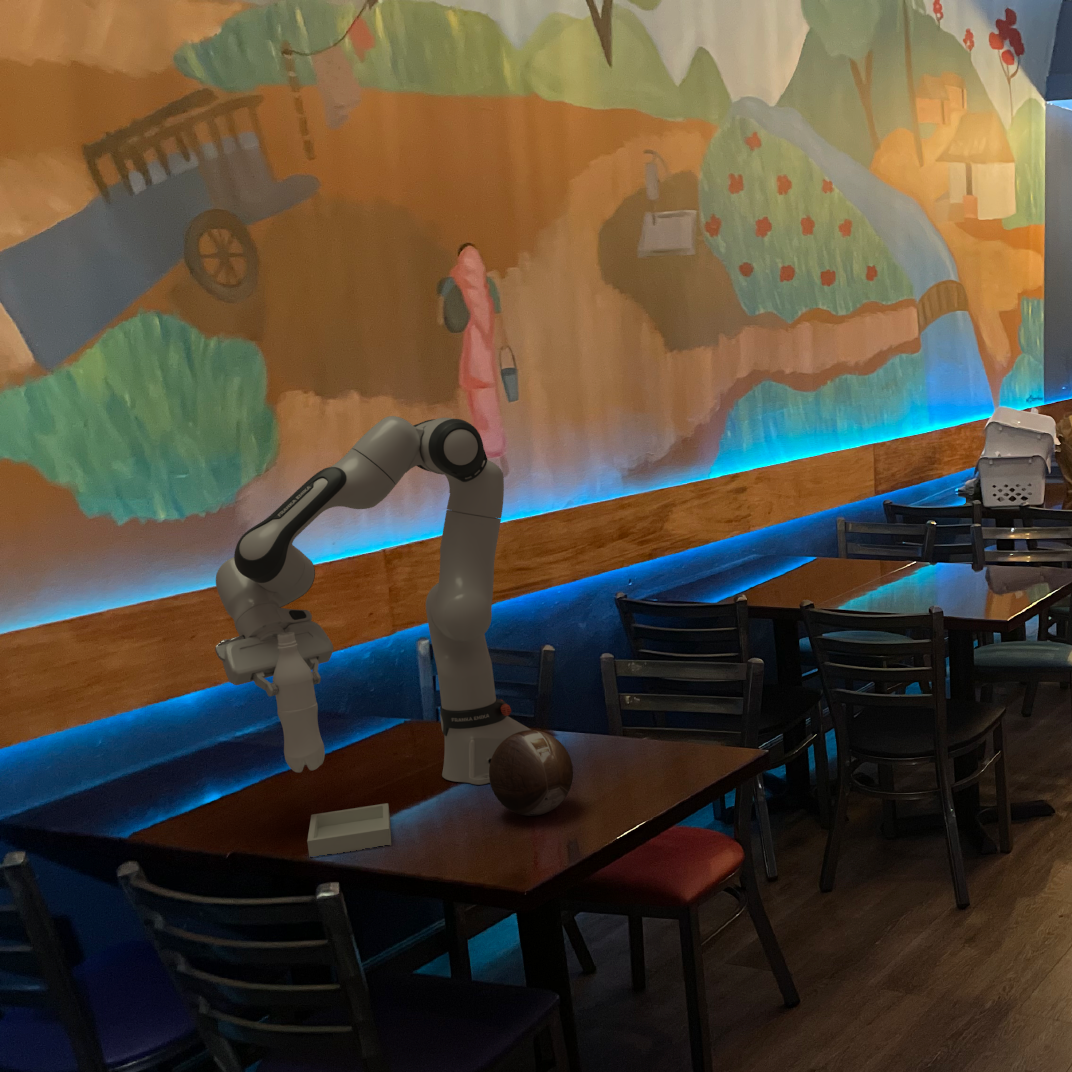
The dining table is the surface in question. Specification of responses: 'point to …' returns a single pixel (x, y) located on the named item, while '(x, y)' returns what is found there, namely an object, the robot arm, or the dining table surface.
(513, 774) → the wooden sphere
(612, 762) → the dining table surface
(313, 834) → the tray
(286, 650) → the water bottle
